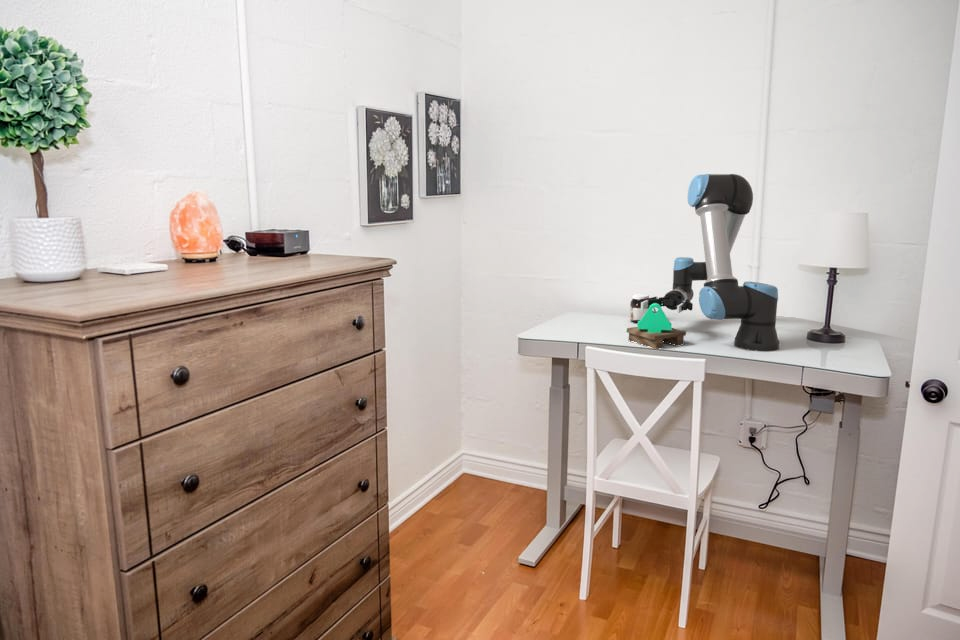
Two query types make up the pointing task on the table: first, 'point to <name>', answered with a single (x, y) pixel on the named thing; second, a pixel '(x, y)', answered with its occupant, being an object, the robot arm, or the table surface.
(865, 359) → the table surface
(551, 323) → the table surface
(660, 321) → the camera mount
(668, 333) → the walnut stand
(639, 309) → the spread jar
